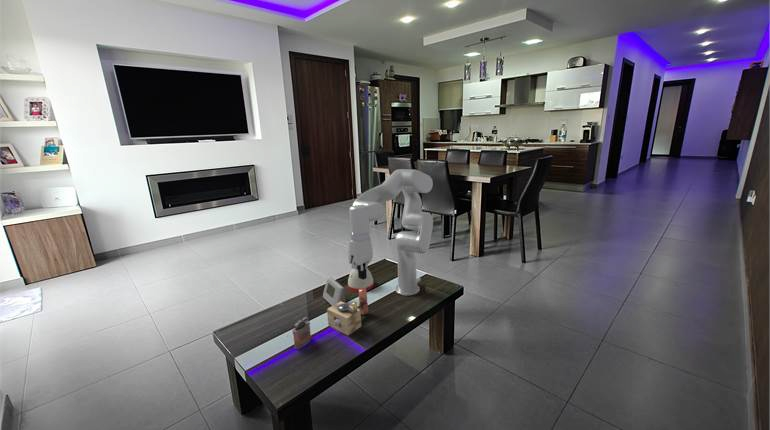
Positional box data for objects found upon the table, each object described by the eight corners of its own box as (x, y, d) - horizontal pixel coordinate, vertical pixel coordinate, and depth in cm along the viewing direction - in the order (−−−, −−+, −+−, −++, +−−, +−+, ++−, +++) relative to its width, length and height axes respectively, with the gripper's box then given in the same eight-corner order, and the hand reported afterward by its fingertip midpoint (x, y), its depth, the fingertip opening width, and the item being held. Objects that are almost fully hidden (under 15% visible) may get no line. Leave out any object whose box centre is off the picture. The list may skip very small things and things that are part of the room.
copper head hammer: (363, 309, 148) (362, 287, 146) (369, 312, 146) (368, 289, 143) (333, 329, 134) (331, 304, 132) (339, 332, 132) (336, 307, 129)
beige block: (342, 317, 144) (340, 301, 142) (361, 326, 136) (360, 309, 134) (328, 325, 138) (327, 308, 136) (347, 335, 130) (346, 318, 128)
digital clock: (322, 297, 163) (320, 277, 160) (339, 293, 166) (338, 274, 164) (329, 312, 148) (327, 291, 146) (348, 308, 152) (347, 287, 149)
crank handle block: (343, 304, 139) (343, 293, 137) (361, 311, 132) (360, 301, 131) (335, 309, 135) (334, 298, 134) (352, 317, 128) (351, 306, 127)
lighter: (298, 350, 123) (295, 327, 120) (292, 347, 124) (289, 324, 122) (313, 338, 129) (311, 316, 127) (307, 336, 131) (305, 314, 129)
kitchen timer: (343, 284, 176) (341, 259, 172) (364, 277, 183) (363, 253, 180) (356, 294, 165) (355, 267, 161) (378, 286, 173) (377, 260, 169)
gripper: (366, 229, 136) (368, 270, 140) (340, 239, 125) (343, 282, 129) (379, 232, 131) (381, 274, 135) (353, 242, 120) (356, 287, 124)
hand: (362, 278), depth 132 cm, fingers closed
